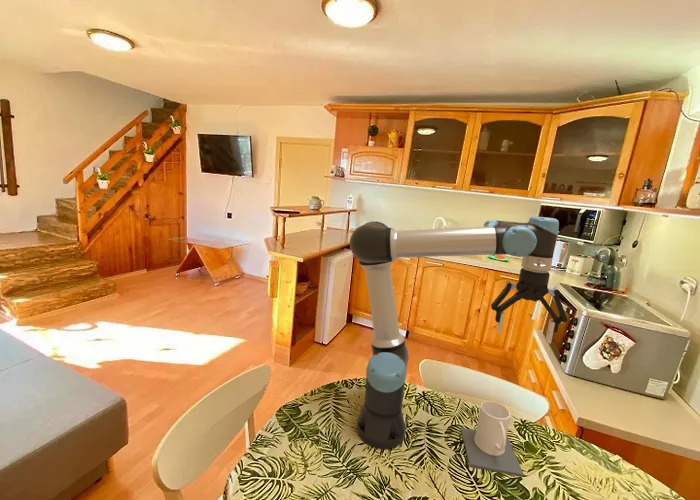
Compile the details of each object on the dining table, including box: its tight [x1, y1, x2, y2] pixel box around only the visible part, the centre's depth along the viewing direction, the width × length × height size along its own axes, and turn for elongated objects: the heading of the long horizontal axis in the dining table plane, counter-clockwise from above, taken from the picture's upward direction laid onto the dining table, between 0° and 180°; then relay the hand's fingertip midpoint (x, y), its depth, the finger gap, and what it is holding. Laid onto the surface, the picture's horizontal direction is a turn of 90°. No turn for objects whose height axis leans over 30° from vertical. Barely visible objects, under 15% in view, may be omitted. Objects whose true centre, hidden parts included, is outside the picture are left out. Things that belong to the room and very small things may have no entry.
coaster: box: [460, 427, 525, 478], centre depth 92 cm, size 14×14×1 cm
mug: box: [474, 399, 511, 456], centre depth 91 cm, size 12×8×12 cm
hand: (522, 336), depth 95 cm, fingers open, 13 cm apart
